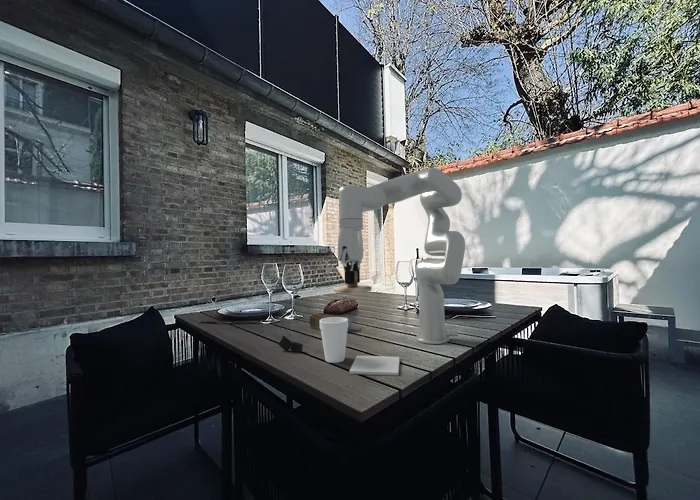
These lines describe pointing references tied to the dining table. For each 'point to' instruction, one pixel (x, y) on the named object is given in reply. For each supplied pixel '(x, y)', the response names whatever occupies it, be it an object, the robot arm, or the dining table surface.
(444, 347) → the dining table surface
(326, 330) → the foam cup
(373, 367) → the mat
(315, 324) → the beverage carton
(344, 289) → the lid
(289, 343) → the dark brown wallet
